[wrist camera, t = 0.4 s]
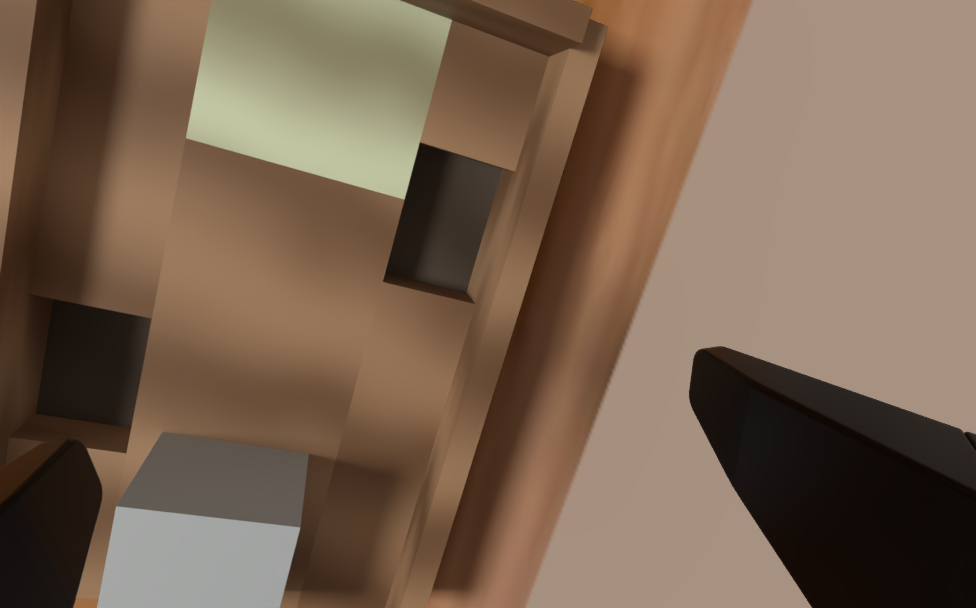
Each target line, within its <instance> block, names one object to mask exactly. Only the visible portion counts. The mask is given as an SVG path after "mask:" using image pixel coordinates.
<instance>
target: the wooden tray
mask: <svg viewBox="0 0 976 608" xmlns="http://www.w3.org/2000/svg"><path fill="white" fill-rule="evenodd" d="M592 9H593V8H590V7H588V6H585V5H583V4H580V3H578V2H576V1H573V0H0V468H1V467H3V466H5V465H6V464H8V463H10V462H11V461H13V460H14V459H16V458H18V457H19V456H21V455H23V454H24V453H26V452H27V451H29V450H31V449H32V448H34V447H36V446H37V445H39V444H41V443H42V442H46V441H51V440H58V439H65V438H73V437H75V438H78V439H80V440H81V441H82V442H83V443H84V444H85V446H86V448H87V450H88V453H89V455H90V457H91V460H92V462H93V465H94V467H95V469H96V472H97V474H98V476H99V479H100V481H101V484H102V492H103V495H102V502H101V506H100V510H99V514H98V517H97V521H96V525H95V529H94V533H93V536H92V540H91V544H90V548H89V552H88V555H87V559H86V563H85V567H84V571H83V574H82V578H81V582H80V586H79V589H78V593H77V596H76V598H80V599H94V600H99V595H100V589H101V584H102V579H103V573H104V568H105V563H106V557H107V552H108V547H109V541H110V536H111V531H112V526H113V520H114V515H115V510H116V506H117V504H118V502H119V501H120V499H121V498H122V496H123V494H124V493H125V491H126V490H127V488H128V486H129V485H130V483H131V482H132V480H133V478H134V477H135V475H136V474H137V472H138V470H139V469H140V467H141V466H142V464H143V462H144V461H145V459H146V457H147V456H148V454H149V453H150V451H151V449H152V448H153V446H154V445H155V443H156V441H157V440H158V438H159V437H160V435H161V433H162V432H168V433H175V434H181V435H188V436H195V437H201V438H208V439H215V440H221V441H228V442H235V443H241V444H248V445H255V446H261V447H268V448H275V449H281V450H288V451H295V452H301V453H308V454H309V457H308V466H307V474H306V483H305V492H304V500H303V509H302V518H301V527H300V531H299V535H298V539H297V543H296V547H295V550H294V554H293V558H292V562H291V566H290V570H289V574H288V578H287V581H286V585H285V589H284V593H283V597H282V601H281V605H280V608H426V607H427V604H428V601H429V598H430V595H431V592H432V588H433V585H434V582H435V579H436V576H437V572H438V569H439V566H440V563H441V560H442V556H443V553H444V550H445V547H446V544H447V540H448V537H449V534H450V531H451V528H452V525H453V521H454V518H455V515H456V512H457V509H458V505H459V502H460V499H461V496H462V493H463V489H464V486H465V483H466V480H467V477H468V473H469V470H470V467H471V464H472V461H473V458H474V454H475V451H476V448H477V445H478V442H479V438H480V435H481V432H482V429H483V426H484V422H485V419H486V416H487V413H488V410H489V406H490V403H491V400H492V397H493V394H494V391H495V387H496V384H497V381H498V378H499V375H500V371H501V368H502V365H503V362H504V359H505V355H506V352H507V349H508V346H509V343H510V339H511V336H512V333H513V330H514V327H515V324H516V320H517V317H518V314H519V311H520V308H521V304H522V301H523V298H524V295H525V292H526V288H527V285H528V282H529V279H530V276H531V273H532V269H533V266H534V263H535V260H536V257H537V253H538V250H539V247H540V244H541V241H542V237H543V234H544V231H545V228H546V225H547V221H548V218H549V215H550V212H551V209H552V206H553V202H554V199H555V196H556V193H557V190H558V186H559V183H560V180H561V177H562V174H563V170H564V167H565V164H566V161H567V158H568V154H569V151H570V148H571V145H572V142H573V139H574V135H575V132H576V129H577V126H578V123H579V119H580V116H581V113H582V110H583V107H584V103H585V100H586V97H587V94H588V91H589V87H590V84H591V81H592V78H593V75H594V72H595V68H596V65H597V62H598V59H599V56H600V52H601V49H602V46H603V43H604V40H605V36H606V33H607V30H608V26H605V25H603V24H601V23H598V22H596V21H593V20H591V19H590V16H591V12H592Z"/></svg>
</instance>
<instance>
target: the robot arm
mask: <svg viewBox="0 0 976 608" xmlns="http://www.w3.org/2000/svg"><path fill="white" fill-rule="evenodd" d="M689 399H690V403H691V406H692V409H693V411H694V413H695V415H696V417H697V419H698V421H699V423H700V425H701V427H702V429H703V430H704V432H705V434H706V436H707V438H708V440H709V442H710V444H711V446H712V448H713V450H714V452H715V454H716V456H717V458H718V460H719V462H720V464H721V465H722V467H723V469H724V471H725V473H726V475H727V477H728V479H729V480H730V482H731V484H732V486H733V487H734V489H735V491H736V492H737V494H738V496H739V497H740V498H741V500H742V502H743V503H744V505H745V506H746V508H747V509H748V511H749V512H750V514H751V516H752V517H753V519H754V520H755V522H756V523H757V525H758V526H759V528H760V529H761V531H762V532H763V534H764V535H765V537H766V538H767V540H768V541H769V543H770V544H771V546H772V547H773V549H774V550H775V552H776V554H777V555H778V557H779V558H780V559H781V561H782V562H783V564H784V566H785V567H786V569H787V570H788V572H789V573H790V575H791V576H792V578H793V579H794V581H795V582H796V584H797V585H798V587H799V588H800V590H801V592H802V593H803V595H804V596H805V598H806V599H807V601H808V602H809V604H810V605H811V607H812V608H976V434H973V433H970V432H965V433H964V432H963V431H962V430H961V429H959V428H956V427H953V426H950V425H947V424H944V423H941V422H939V421H936V420H933V419H930V418H927V417H924V416H921V415H919V414H915V413H913V412H910V411H907V410H904V409H901V408H899V407H896V406H892V405H890V404H887V403H884V402H881V401H878V400H876V399H873V398H870V397H867V396H864V395H861V394H858V393H856V392H852V391H850V390H847V389H844V388H841V387H838V386H835V385H832V384H829V383H827V382H824V381H821V380H818V379H815V378H812V377H809V376H807V375H804V374H801V373H798V372H795V371H792V370H790V369H787V368H784V367H781V366H778V365H775V364H772V363H769V362H766V361H764V360H761V359H758V358H755V357H752V356H749V355H747V354H744V353H741V352H738V351H735V350H732V349H729V348H726V347H722V346H718V347H711V348H705V349H700V350H698V351H697V352H696V354H695V356H694V359H693V367H692V374H691V382H690V390H689ZM102 495H103V492H102V484H101V481H100V479H99V476H98V474H97V472H96V469H95V467H94V465H93V462H92V460H91V457H90V455H89V453H88V450H87V448H86V446H85V444H84V443H83V442H82V441H81V440H80V439H78V438H75V437H73V438H65V439H58V440H51V441H46V442H42V443H41V444H39V445H37V446H36V447H34V448H32V449H31V450H29V451H27V452H26V453H24V454H23V455H21V456H19V457H18V458H16V459H14V460H13V461H11V462H10V463H8V464H6V465H5V466H3V467H1V468H0V608H73V606H74V603H75V599H76V596H77V593H78V589H79V586H80V582H81V578H82V574H83V571H84V567H85V563H86V559H87V555H88V552H89V548H90V544H91V540H92V536H93V533H94V529H95V525H96V521H97V517H98V514H99V510H100V506H101V502H102Z"/></svg>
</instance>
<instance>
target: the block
mask: <svg viewBox="0 0 976 608" xmlns="http://www.w3.org/2000/svg"><path fill="white" fill-rule="evenodd" d="M308 457H309V454H308V453H301V452H295V451H288V450H281V449H275V448H268V447H261V446H255V445H248V444H241V443H235V442H228V441H221V440H215V439H208V438H201V437H195V436H188V435H181V434H175V433H168V432H162V433H161V435H160V437H159V438H158V440H157V441H156V443H155V445H154V446H153V448H152V449H151V451H150V453H149V454H148V456H147V457H146V459H145V461H144V462H143V464H142V466H141V467H140V469H139V470H138V472H137V474H136V475H135V477H134V478H133V480H132V482H131V483H130V485H129V486H128V488H127V490H126V491H125V493H124V494H123V496H122V498H121V499H120V501H119V502H118V504H117V506H116V510H115V515H114V520H113V526H112V531H111V536H110V541H109V547H108V552H107V557H106V563H105V568H104V573H103V579H102V584H101V589H100V595H99V600H98V605H97V608H280V605H281V601H282V597H283V593H284V589H285V585H286V581H287V578H288V574H289V570H290V566H291V562H292V558H293V554H294V550H295V547H296V543H297V539H298V535H299V531H300V527H301V518H302V509H303V500H304V492H305V483H306V474H307V466H308Z"/></svg>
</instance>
